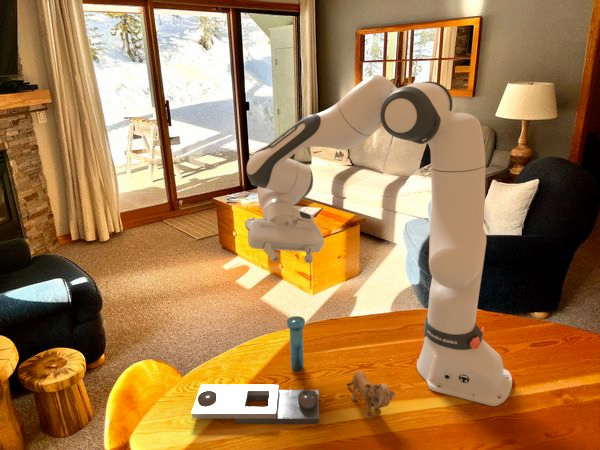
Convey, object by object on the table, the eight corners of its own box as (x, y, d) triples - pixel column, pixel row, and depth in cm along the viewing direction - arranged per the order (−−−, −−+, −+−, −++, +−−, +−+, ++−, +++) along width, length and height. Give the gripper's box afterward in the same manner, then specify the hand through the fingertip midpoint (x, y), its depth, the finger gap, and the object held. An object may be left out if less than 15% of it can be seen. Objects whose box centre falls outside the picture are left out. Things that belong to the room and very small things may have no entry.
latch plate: (318, 394, 110) (318, 383, 108) (319, 423, 101) (319, 411, 100) (202, 395, 111) (200, 383, 109) (193, 423, 102) (191, 411, 101)
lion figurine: (397, 419, 102) (399, 386, 99) (379, 429, 99) (380, 396, 96) (354, 382, 114) (355, 351, 110) (337, 390, 111) (337, 359, 108)
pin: (309, 365, 120) (308, 319, 115) (299, 375, 117) (298, 328, 111) (295, 359, 122) (293, 314, 117) (285, 368, 119) (283, 322, 114)
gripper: (247, 209, 117) (256, 249, 108) (318, 216, 126) (333, 254, 117) (240, 226, 121) (249, 266, 112) (310, 231, 130) (323, 270, 121)
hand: (292, 260), depth 114 cm, fingers open, 8 cm apart
